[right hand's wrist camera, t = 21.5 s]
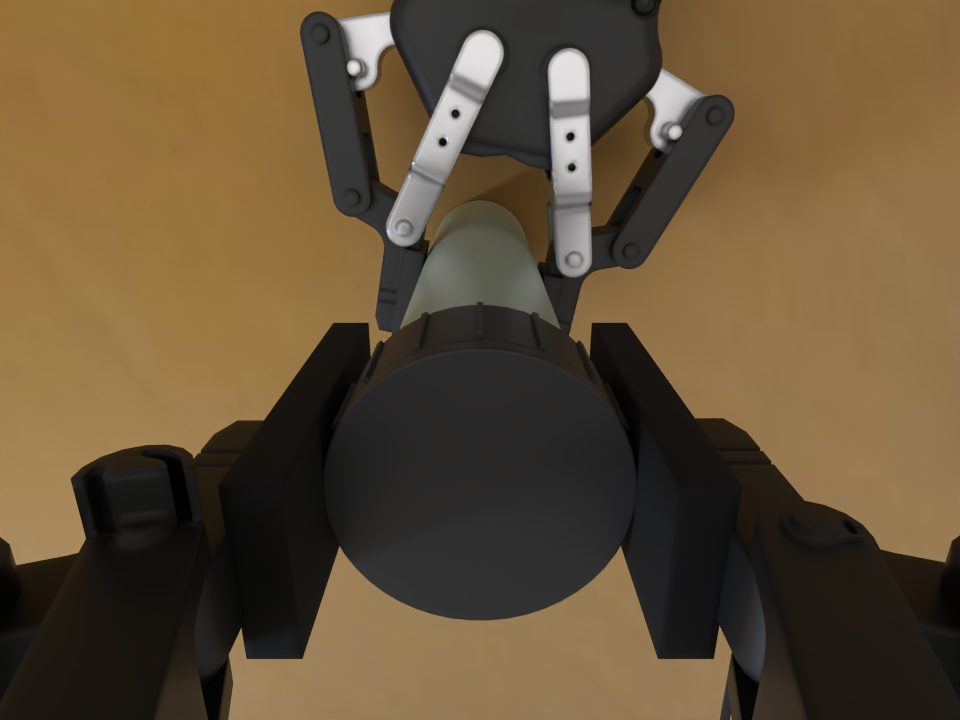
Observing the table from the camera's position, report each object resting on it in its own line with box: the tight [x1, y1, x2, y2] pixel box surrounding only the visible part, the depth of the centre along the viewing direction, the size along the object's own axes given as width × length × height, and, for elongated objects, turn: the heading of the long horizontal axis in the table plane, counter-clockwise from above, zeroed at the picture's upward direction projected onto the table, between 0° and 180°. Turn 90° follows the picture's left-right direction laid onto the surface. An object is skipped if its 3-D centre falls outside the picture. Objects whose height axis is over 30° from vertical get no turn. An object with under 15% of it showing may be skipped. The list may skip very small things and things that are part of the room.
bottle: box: [400, 200, 561, 330], centre depth 20 cm, size 4×4×19 cm
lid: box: [323, 302, 637, 620], centre depth 11 cm, size 5×5×2 cm
